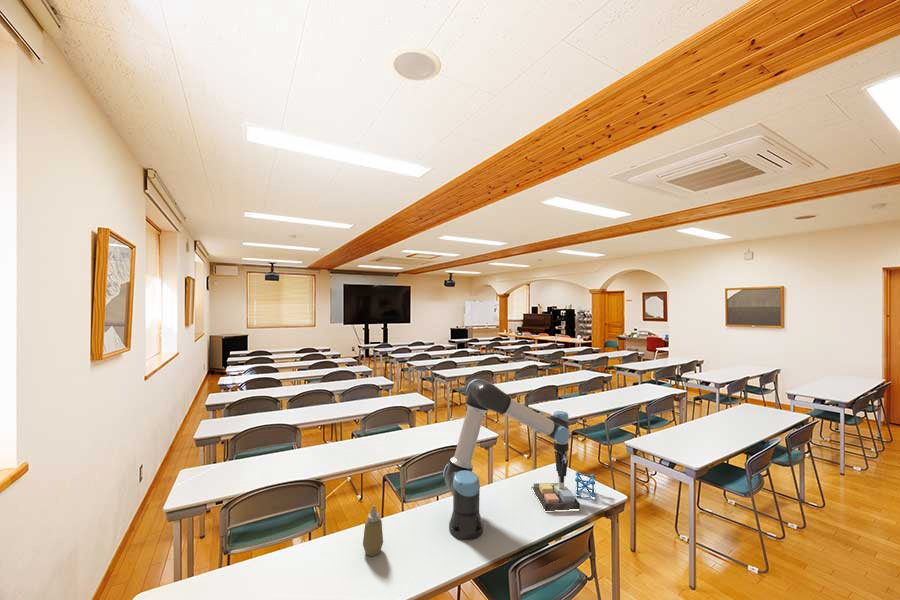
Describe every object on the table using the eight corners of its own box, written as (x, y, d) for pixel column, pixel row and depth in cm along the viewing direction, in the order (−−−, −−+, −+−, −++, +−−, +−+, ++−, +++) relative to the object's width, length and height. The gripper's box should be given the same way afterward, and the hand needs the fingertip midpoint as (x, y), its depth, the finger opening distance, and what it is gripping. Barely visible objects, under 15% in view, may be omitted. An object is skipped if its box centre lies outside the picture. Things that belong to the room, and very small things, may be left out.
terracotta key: (547, 505, 178) (547, 499, 178) (544, 499, 183) (544, 493, 183) (558, 505, 178) (558, 499, 178) (554, 499, 184) (554, 493, 184)
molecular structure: (595, 492, 196) (595, 473, 197) (595, 501, 187) (595, 481, 187) (575, 489, 200) (575, 470, 200) (574, 497, 191) (574, 478, 191)
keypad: (545, 512, 176) (545, 504, 176) (531, 489, 199) (531, 482, 199) (579, 511, 177) (579, 503, 177) (562, 488, 200) (561, 481, 200)
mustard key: (542, 494, 186) (542, 488, 186) (539, 489, 191) (539, 483, 191) (553, 494, 186) (553, 488, 186) (549, 489, 192) (549, 483, 192)
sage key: (557, 496, 186) (557, 490, 186) (553, 491, 192) (553, 485, 192) (568, 496, 186) (568, 490, 187) (564, 491, 192) (564, 485, 192)
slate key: (563, 502, 178) (563, 496, 178) (559, 496, 184) (559, 490, 184) (574, 502, 179) (574, 495, 179) (570, 496, 184) (570, 490, 184)
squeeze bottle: (360, 548, 148) (361, 503, 148) (380, 543, 151) (381, 499, 151) (364, 560, 140) (365, 513, 141) (385, 555, 143) (386, 508, 144)
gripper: (573, 446, 184) (573, 493, 183) (563, 437, 197) (563, 481, 196) (558, 446, 183) (558, 494, 182) (549, 437, 196) (549, 482, 195)
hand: (561, 487), depth 189 cm, fingers closed
